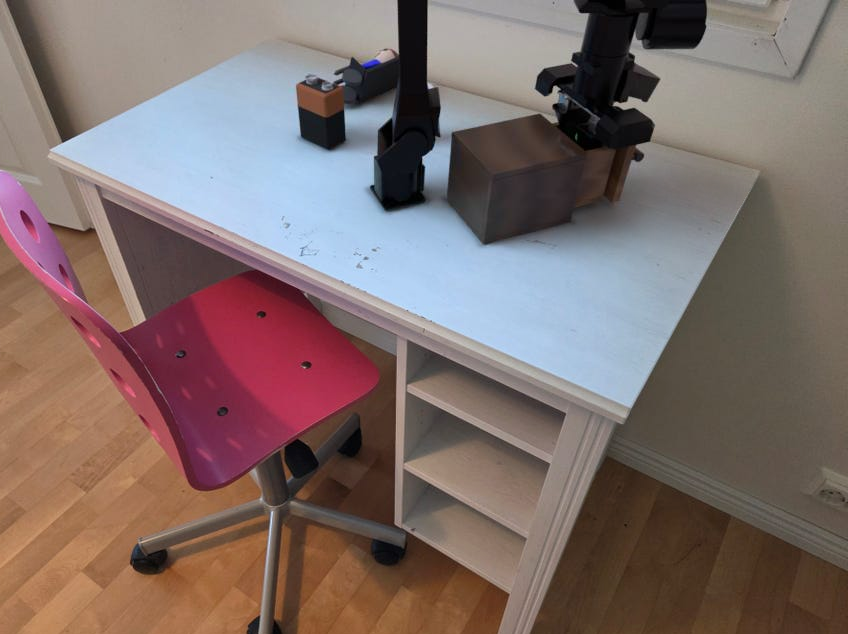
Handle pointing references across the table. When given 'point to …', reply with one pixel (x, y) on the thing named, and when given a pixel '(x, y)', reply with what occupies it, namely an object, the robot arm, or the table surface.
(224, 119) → the table surface
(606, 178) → the drawer
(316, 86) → the battery
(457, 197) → the cabinet
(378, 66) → the character figurine
